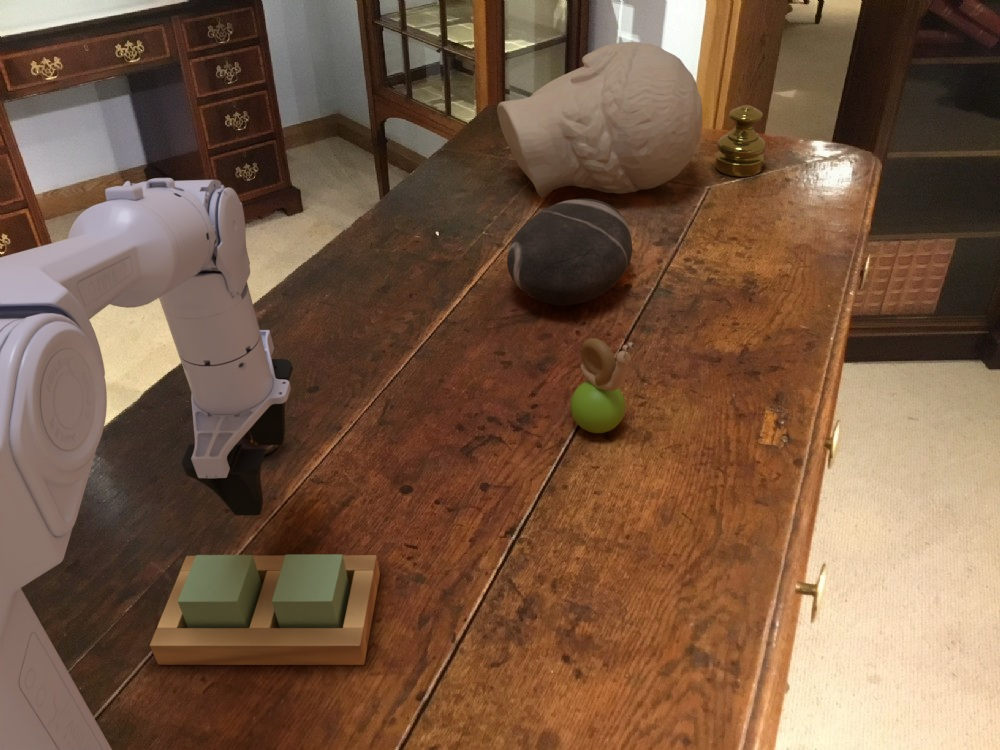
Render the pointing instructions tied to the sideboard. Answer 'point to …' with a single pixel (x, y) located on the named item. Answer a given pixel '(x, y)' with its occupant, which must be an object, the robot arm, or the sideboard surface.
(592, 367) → the snail figurine
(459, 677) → the sideboard surface
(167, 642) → the backing frame
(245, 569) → the olive green cubic block
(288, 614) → the green cubic block
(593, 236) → the decorative stone
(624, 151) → the bust
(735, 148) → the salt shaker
